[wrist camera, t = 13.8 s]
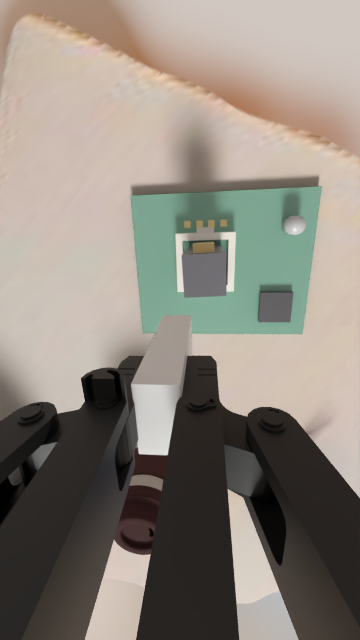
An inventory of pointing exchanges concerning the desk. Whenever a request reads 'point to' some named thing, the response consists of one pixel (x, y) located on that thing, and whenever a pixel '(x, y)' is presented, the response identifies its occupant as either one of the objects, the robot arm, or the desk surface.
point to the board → (250, 257)
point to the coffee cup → (141, 504)
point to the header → (207, 234)
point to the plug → (204, 270)
